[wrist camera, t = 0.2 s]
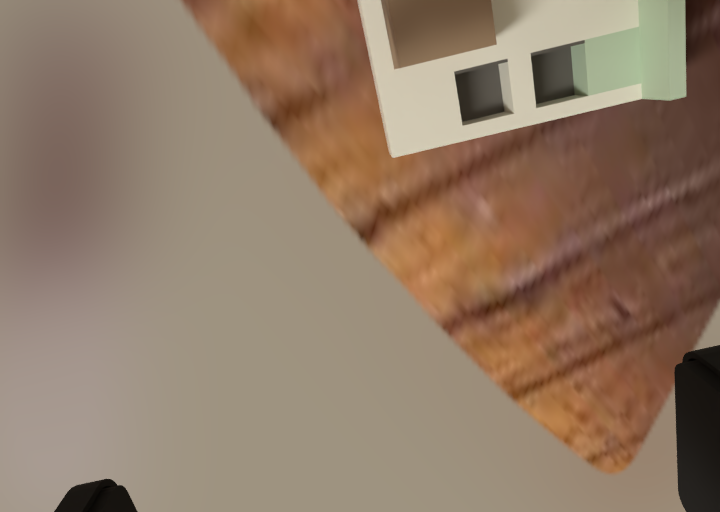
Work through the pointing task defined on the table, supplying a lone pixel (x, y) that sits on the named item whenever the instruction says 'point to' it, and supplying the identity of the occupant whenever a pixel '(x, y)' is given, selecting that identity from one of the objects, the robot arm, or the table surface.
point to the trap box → (530, 69)
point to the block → (436, 28)
